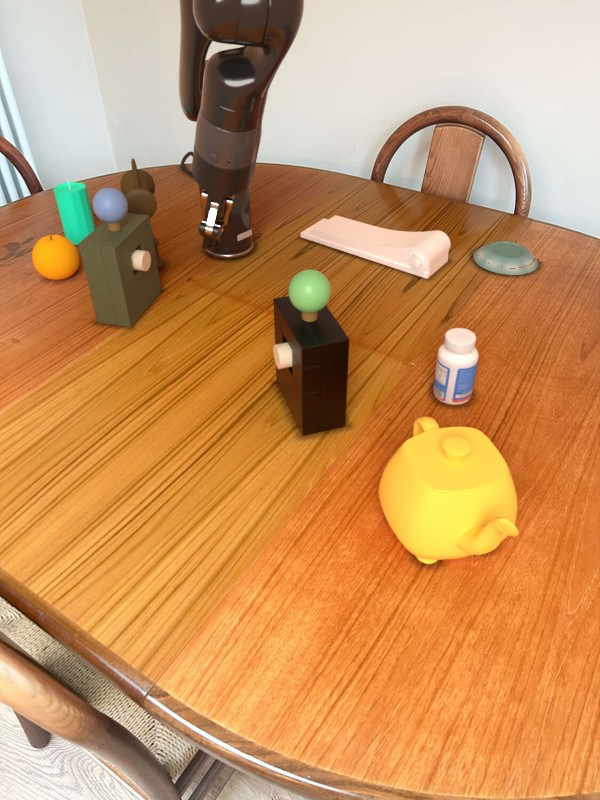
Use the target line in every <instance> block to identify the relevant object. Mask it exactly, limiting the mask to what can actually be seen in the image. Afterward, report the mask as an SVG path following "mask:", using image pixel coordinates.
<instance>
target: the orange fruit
mask: <svg viewBox="0 0 600 800" xmlns="http://www.w3.org/2000/svg"><path fill="white" fill-rule="evenodd" d="M31 257H32V258H31V259H32V260H31V261H32V265H33V267H34V268H35V271H37V272H38V274H40V275H41V276H42V277H43V278H45V279H47V280H54V281H59V280H60V281H61V280H66V279H68V278H69V277H71V276H73V275H75V273H76V272H77V270H78V269H79V267H80V261H81V259H80V253H79V250H78V248H77V245H74V244H73V243H72V242H71V241H70V240H69V239H67V238H65V236H63V235H61V234H60V235H59V234H49V235H45V236H42V237H41V238H40V239H38V241H36V243H35V245H34V246H33V248H32V252H31Z"/></svg>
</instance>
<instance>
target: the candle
mask: <svg viewBox="0 0 600 800" xmlns="http://www.w3.org/2000/svg"><path fill="white" fill-rule="evenodd" d="M53 194H54V198H55V202H56V206H57V210H58V213H59V218H60V222H61V227H62V229H63V233H64V237H65V238H67V239H69V240H70V241H71V242H72V243H73V244H74V245H75V246H79V243H80V242H81V241H82V240H83V239H84V238H86V237H87V236H88V235H89V234H90V233H91V232H93V231H94V230H95V229H96V225H95V219H94V216H93V212H92V207H91V202H90V198H89V193H88V189H87V186H86V184H85V183H84V182H75V181H69V179H68V178H67V181H65V182H62V183H59V184H57V185H55V186H54V188H53Z"/></svg>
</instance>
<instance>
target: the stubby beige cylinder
mask: <svg viewBox="0 0 600 800" xmlns="http://www.w3.org/2000/svg"><path fill="white" fill-rule="evenodd" d="M272 353H273V359H274V363H275V367H276V366H277V368H278V369H283V368H288V367H292V349H291V348H290V346H289V344H288V342H286V343H281V344H276V345H275V344H274V345H273V347H272Z"/></svg>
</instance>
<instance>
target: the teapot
mask: <svg viewBox="0 0 600 800" xmlns="http://www.w3.org/2000/svg"><path fill="white" fill-rule="evenodd" d="M412 428H413V429H412V437H409V438H408V439H407V440H405V441H404V442H403V443H402V444H401V445H400V446H399V447H398V449H397V450H396V451H395V453H394V454H393V455H392V456H391V458H390V459H389V460H388V462H387V463H386V465H385V466H384V467H385V468H384V469H383V472H382V474H381V477H380V480H379V486H378V499H379V502H380V503H379V504H380V506H381V509H382V512H383V515H384V517H385V519H386V522H387V523H388V525H389V527H390V529H391V530H392V531H393V533H394V535H395V536H396V538H397V539H398V541H399V542H400V543H401V544H402V546H403V547H404V548H405V549H406V550H407V551H408V552H409V553H410V554H412V555H414V556H415V557H416V559H417V560H418V561H419V562H421V563H422V564H426V565H432V564H434V563H436V562H438V561H441V560H442V561H443V560H445V561H446V560H455V559H461V558H466V557H471V556H473V555H474V556H481V555H486V554H488V553H490V552H493V551H494V550H496V549H497V548H498V547H499V546H500V544H501V542H503V541H504V540H505V539H507V537H508V536H510V537H518V536H519V534H520V532H519V529H518V527H517V526H516V521H517V516H518V514H517V513H518V495H517V491H516V487H515V483H514V480H513V479H514V478H513V476H512V473H511V470H510V468H509V466H508V464H507V462H506V460H505V458H504V457H503V455H502V454H501V452H500V451H499V449H498V448H497V446H496V445H495V444H494V443H493V441H492V440H491V439H490V438H489V437H488V436H487V435H486V434H485V433H484V432H482V431H481V430H480V429H477V428H474V427H469V426H449V427H440V426H439V423H438V422H437V421H436V420H435V419H434V418H433V417H431V416H421V417H418V418H417V419H415V421H414V423H413V427H412Z"/></svg>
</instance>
